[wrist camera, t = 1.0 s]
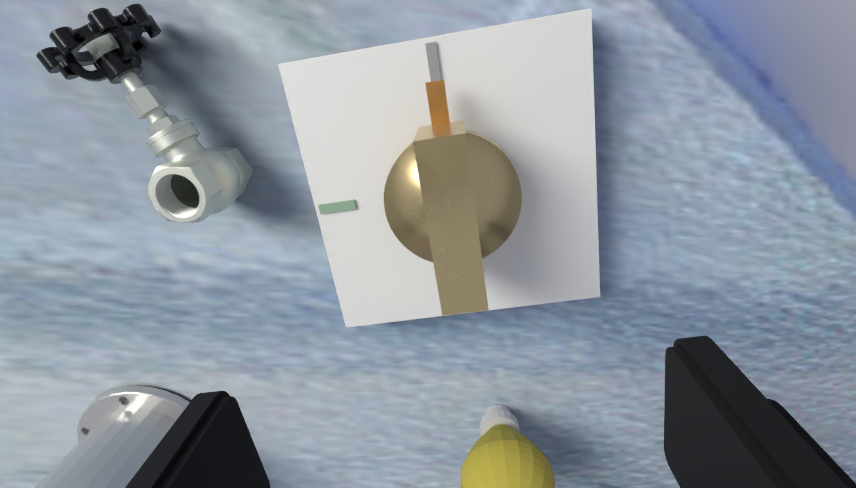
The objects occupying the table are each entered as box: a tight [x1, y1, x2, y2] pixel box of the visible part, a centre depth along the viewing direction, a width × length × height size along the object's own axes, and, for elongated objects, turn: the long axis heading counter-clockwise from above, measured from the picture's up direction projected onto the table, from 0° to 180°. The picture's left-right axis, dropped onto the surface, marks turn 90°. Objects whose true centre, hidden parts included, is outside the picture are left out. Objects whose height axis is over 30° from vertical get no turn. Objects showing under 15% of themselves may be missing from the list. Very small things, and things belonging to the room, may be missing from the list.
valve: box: [36, 4, 254, 223], centre depth 29 cm, size 7×7×12 cm
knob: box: [384, 79, 522, 316], centre depth 25 cm, size 11×8×8 cm
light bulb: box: [461, 404, 555, 488], centre depth 35 cm, size 7×7×10 cm
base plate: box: [278, 8, 600, 327], centre depth 31 cm, size 18×18×3 cm
